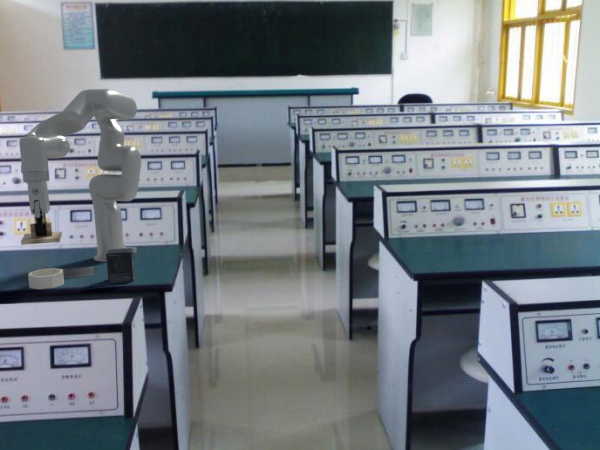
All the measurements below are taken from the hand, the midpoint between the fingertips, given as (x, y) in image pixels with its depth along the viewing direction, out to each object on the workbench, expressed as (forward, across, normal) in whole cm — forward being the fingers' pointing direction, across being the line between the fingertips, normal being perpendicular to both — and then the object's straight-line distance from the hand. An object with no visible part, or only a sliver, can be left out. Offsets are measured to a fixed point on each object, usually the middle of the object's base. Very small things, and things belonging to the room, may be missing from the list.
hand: (41, 234), depth 194 cm
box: (+17, -3, -23) cm, 29 cm away
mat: (+17, +12, -8) cm, 22 cm away
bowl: (+17, 0, 0) cm, 17 cm away
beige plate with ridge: (+2, 0, 0) cm, 2 cm away
